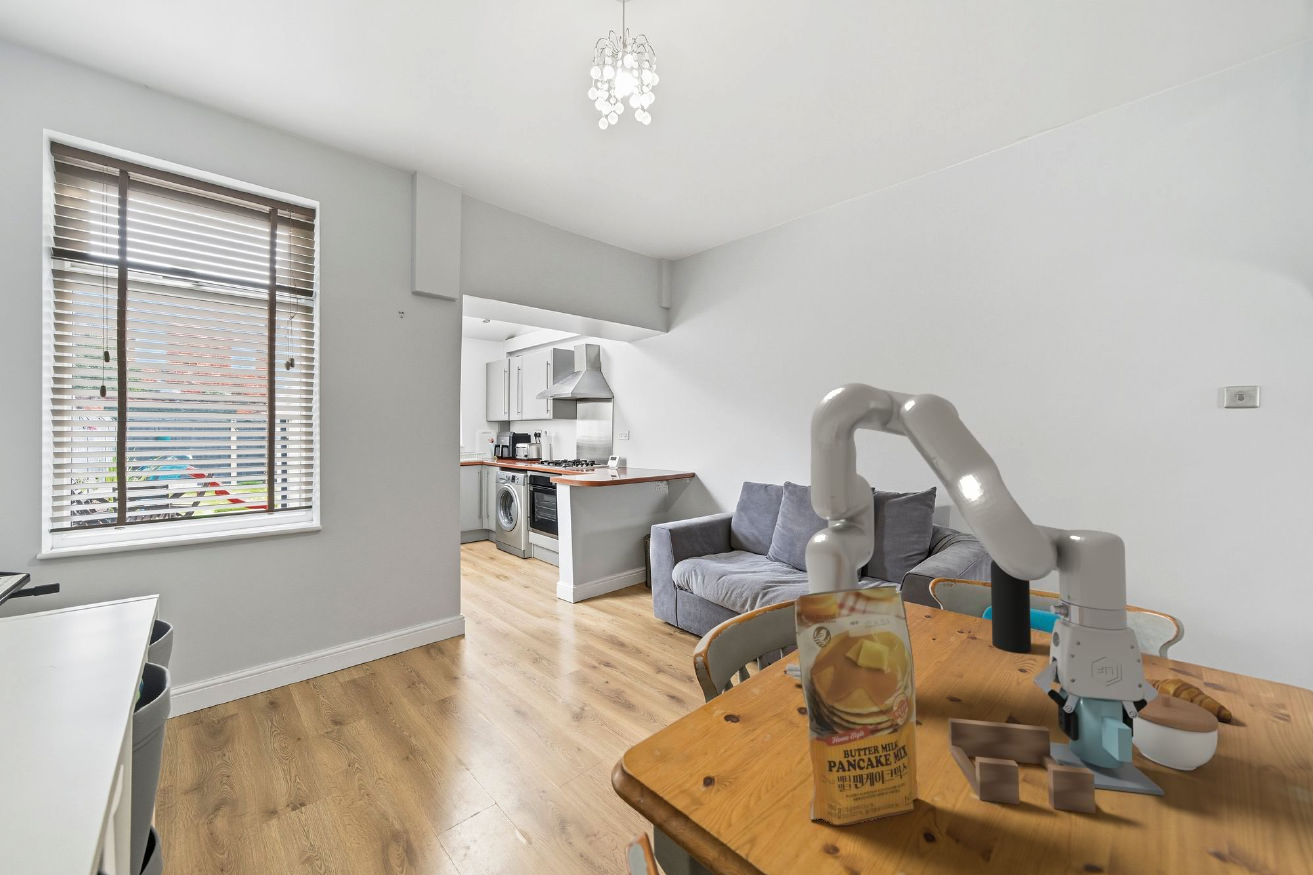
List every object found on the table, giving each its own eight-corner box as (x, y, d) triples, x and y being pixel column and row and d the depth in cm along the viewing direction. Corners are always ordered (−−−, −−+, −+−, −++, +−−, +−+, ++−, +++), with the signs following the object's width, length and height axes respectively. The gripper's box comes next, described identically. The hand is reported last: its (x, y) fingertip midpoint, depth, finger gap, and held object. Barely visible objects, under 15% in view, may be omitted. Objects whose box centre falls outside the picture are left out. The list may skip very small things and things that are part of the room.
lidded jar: (1117, 730, 84) (1115, 673, 85) (1211, 754, 78) (1209, 692, 78) (1122, 761, 76) (1120, 698, 76) (1228, 791, 69) (1226, 721, 69)
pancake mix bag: (783, 799, 68) (780, 589, 69) (903, 776, 73) (899, 580, 73) (809, 836, 61) (806, 604, 62) (940, 808, 66) (936, 593, 67)
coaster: (1079, 786, 70) (1079, 781, 70) (1040, 745, 80) (1040, 741, 80) (1164, 795, 68) (1164, 791, 68) (1113, 752, 78) (1113, 748, 78)
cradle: (980, 799, 68) (979, 761, 68) (948, 750, 79) (948, 717, 79) (1095, 813, 65) (1094, 774, 65) (1046, 760, 76) (1045, 726, 76)
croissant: (1243, 721, 87) (1242, 692, 87) (1221, 729, 85) (1220, 698, 85) (1145, 687, 100) (1144, 661, 100) (1123, 693, 98) (1123, 666, 98)
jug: (1100, 779, 69) (1098, 697, 69) (1060, 741, 78) (1059, 669, 78) (1152, 785, 68) (1149, 702, 68) (1106, 746, 77) (1104, 672, 77)
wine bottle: (984, 643, 123) (981, 519, 124) (1007, 639, 125) (1005, 517, 126) (1015, 655, 116) (1011, 523, 116) (1039, 650, 118) (1035, 521, 119)
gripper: (1040, 619, 73) (1042, 746, 73) (1182, 627, 70) (1186, 760, 69) (1014, 604, 80) (1016, 719, 80) (1141, 610, 77) (1145, 730, 76)
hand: (1095, 737), depth 74 cm, fingers closed on jug, 6 cm apart
